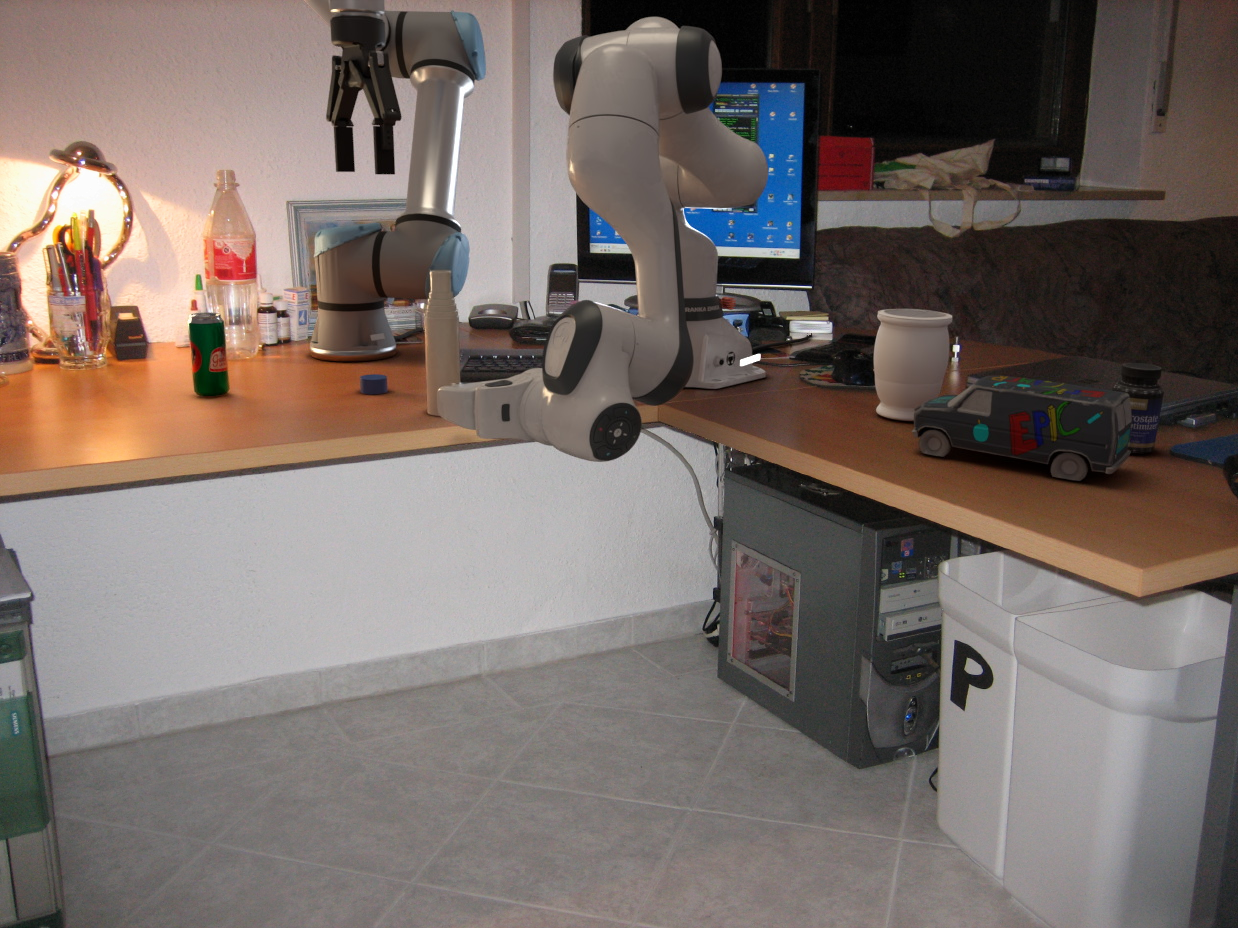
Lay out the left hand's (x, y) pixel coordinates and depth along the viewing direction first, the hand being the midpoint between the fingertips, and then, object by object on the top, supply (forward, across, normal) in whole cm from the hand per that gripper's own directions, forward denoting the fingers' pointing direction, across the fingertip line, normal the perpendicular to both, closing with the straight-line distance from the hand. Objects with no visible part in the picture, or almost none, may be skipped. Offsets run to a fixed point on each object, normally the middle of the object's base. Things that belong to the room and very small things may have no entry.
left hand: (364, 173), depth 156 cm
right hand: (+26, +30, +2) cm, 40 cm away
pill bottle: (+33, +85, +68) cm, 113 cm away
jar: (+33, +56, +57) cm, 87 cm away
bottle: (+33, +18, +2) cm, 37 cm away
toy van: (+33, +80, +50) cm, 99 cm away
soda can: (+33, -11, -21) cm, 41 cm away
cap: (+31, 0, 0) cm, 31 cm away
